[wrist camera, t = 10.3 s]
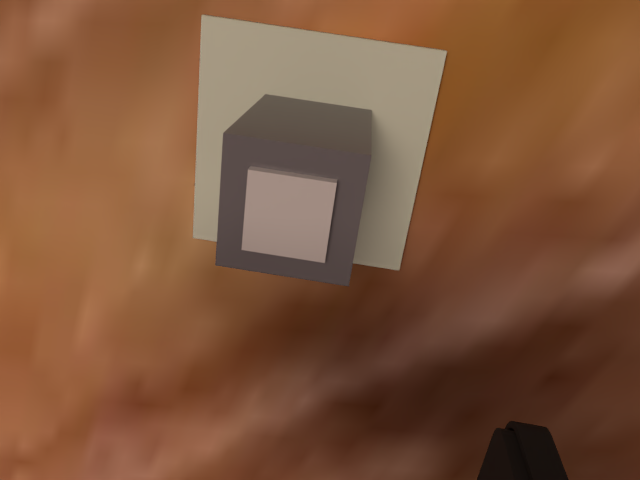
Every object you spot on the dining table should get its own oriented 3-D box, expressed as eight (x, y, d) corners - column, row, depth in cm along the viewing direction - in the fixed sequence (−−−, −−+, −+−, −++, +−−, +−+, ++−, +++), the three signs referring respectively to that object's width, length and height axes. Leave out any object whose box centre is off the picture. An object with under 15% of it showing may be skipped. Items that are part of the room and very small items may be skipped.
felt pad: (445, 50, 24) (446, 51, 24) (398, 266, 29) (399, 270, 29) (204, 14, 25) (201, 14, 24) (195, 234, 29) (192, 237, 29)
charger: (371, 109, 25) (371, 158, 18) (354, 209, 27) (348, 291, 20) (265, 94, 25) (220, 135, 18) (256, 194, 28) (212, 270, 20)
